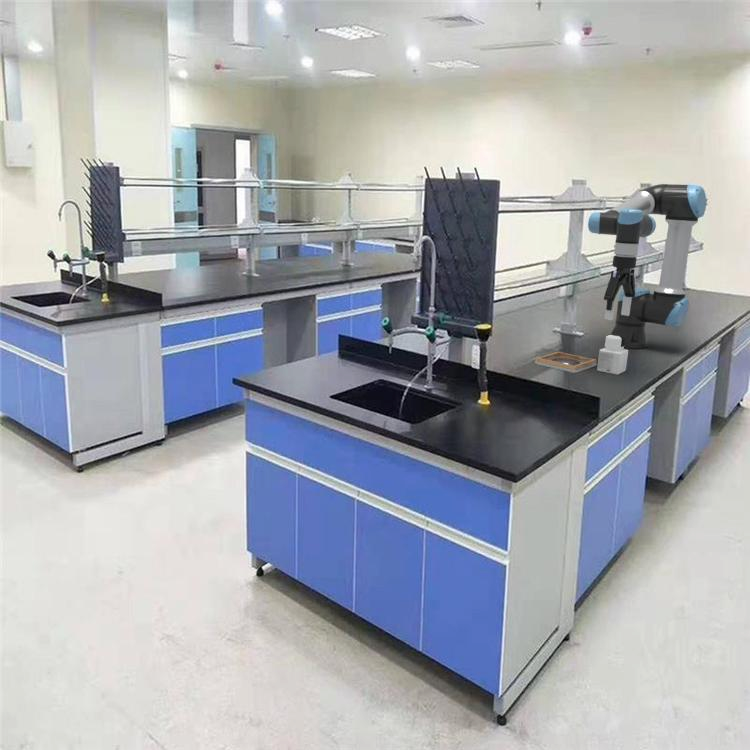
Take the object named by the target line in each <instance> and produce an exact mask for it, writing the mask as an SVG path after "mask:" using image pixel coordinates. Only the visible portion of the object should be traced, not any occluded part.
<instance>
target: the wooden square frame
mask: <svg viewBox="0 0 750 750" xmlns="http://www.w3.org/2000/svg"><path fill="white" fill-rule="evenodd" d="M534 364H535V365H538V366H542V367H546V368H547V367H548V368H551V369H556V370H559V371H560V370H561V371H564V372H568V373H573V374H576V373H579V372H582V371H585V370H587V369H588V370H589V369H591V368H593V367H596V366H597V365H598V362H597V359H595V358H589V357H585V356H580V355H577V354H576V355H575V354H572V353H566V352H562V351H555V352H552V353H549V354H545V355H543V356H539V357H536V358H535V361H534Z"/></svg>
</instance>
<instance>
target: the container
mask: <svg viewBox="0 0 750 750" xmlns="http://www.w3.org/2000/svg"><path fill="white" fill-rule="evenodd" d="M624 346H625V337H624V336H622V335H618V334H611V333H609V334H607V335H606V336H605V342H604V347H603V348H600V349H599V352H598V359H597V365H596V366H597V369H596V371H597V372H598V371H599V372H603V373H607V374H613V375H620V374H622V373H624V372H625V371H626V370H627V364H628V356H629V349H626V348H624Z"/></svg>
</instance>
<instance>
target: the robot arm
mask: <svg viewBox="0 0 750 750" xmlns="http://www.w3.org/2000/svg"><path fill="white" fill-rule="evenodd" d="M706 195H707V194H706V192H705V189H704V188H703V187H702V186H701V185H695V184H674V183H673V184H666V183H660V184H655V185H651V186H648V187H646V188H643V189H641V190H640V189H639V190H638V191H637V192H635V193H634V194H633V195H632V196H631V197H630V198H629V199H627V200H626V201H624V202H622V203H620V204H618V205H616V206H614V207H612V208H610V209H609V210H607V211H605V212H601V211H598V212H597V211H594V212H593V213H591V214H590V216H589V218H588V221H587V222H588V223H587V227H588V231H589V232H590V233H592V234H597V235H609V236H615V241H614V243H615V244H614V245H613V247H614V251H613V253H614V256H613V258H612V267H613V268H615V270H611V272H610V277H609V279H608V283H607V286H606V287H607V288H606V289H605V292H604V296H603V300H604V301H606V302H605V309H604V310H605V312H604V318H603V319H604V320H608V321H613V320H614V314H615V306H616V301H615V299H616V297H617V295H618V292H619V290H620V288H621V286H622V290H621V291H620V292H619V295H618V300H617V308H616V317H615V324H614V326H613V329H612V330H611V333H610V334H618V335H622V336H624V337H625V346H624V347H625V348H624V349H636V348H637V349H645V348H647V346H648V337H647V333H646V323H648V324H654V325H655V324H656V325H661V326H665V327H679V326H680V325H681V324H683V322H684V320H685V319H686V316H687V315H688V312H689V309H690V300H689V298H687V297H686V292H685V290H684V289H683V287H684V286H683V285H684V279H685V274H686V273H685V272H686V267H687V261H688V256H689V249H690V244H691V243H690V242H691V237H692V232H693V231H692V230H693V227H694V226H695V225H696V224H697V223H698V222H699V219H700V218H702V217H703V216H704V215H705V212H706V209H707V196H706ZM651 215H661V216H665V218H664V219H665V222H666V223H667V224H668V225H667V226H668V227H667V231H666V232H667V233H666V240H665V246H664V251H663V258H662V265H661V271H660V276H659V283H658V286H657V287H656V288H655V289H654V290H653V293H651V289H649V288H636V285H635V283H636V282H635V268H636V266H637V265H636V264H637V261H638V260H637V257H636V256H638V253H639V245H640V238H646V237H649V236H651V235H652V234H653V233H655V230H656V227H657V222H656V219H655V218H654V217H652V216H651Z"/></svg>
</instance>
